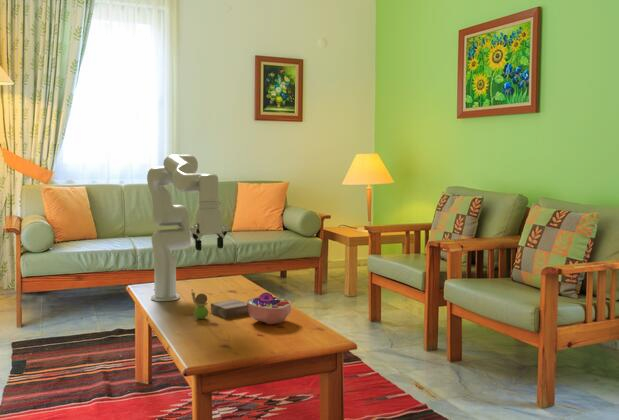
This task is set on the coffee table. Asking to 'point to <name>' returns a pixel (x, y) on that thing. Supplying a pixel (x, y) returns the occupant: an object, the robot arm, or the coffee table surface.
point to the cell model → (269, 308)
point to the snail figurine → (200, 305)
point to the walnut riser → (229, 308)
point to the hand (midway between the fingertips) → (209, 249)
